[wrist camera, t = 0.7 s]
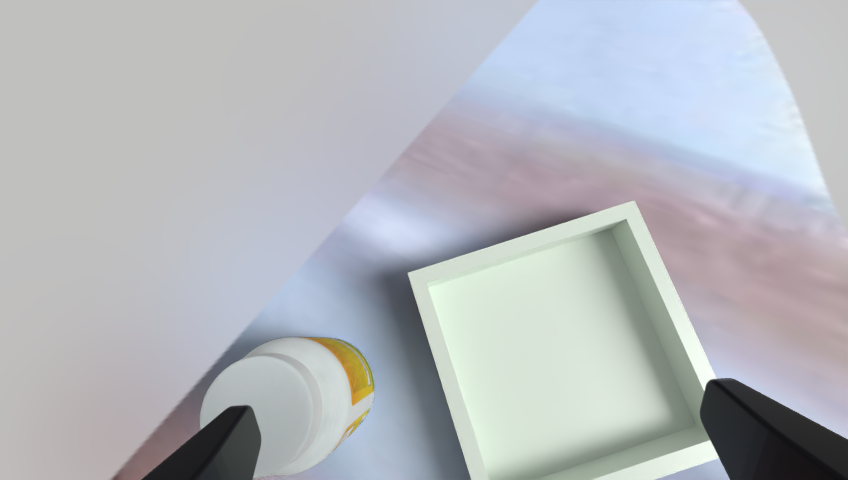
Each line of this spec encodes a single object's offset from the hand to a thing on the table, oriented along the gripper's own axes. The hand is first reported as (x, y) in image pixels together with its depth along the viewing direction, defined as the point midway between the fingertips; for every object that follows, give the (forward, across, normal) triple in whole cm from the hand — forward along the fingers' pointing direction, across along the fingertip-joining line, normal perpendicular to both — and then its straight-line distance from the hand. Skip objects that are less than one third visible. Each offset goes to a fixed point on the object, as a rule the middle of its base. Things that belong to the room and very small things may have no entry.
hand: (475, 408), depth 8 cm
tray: (+13, -5, +9) cm, 17 cm away
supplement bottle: (+12, +7, +10) cm, 18 cm away
